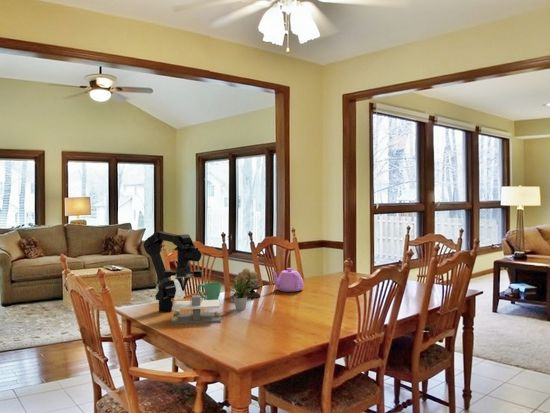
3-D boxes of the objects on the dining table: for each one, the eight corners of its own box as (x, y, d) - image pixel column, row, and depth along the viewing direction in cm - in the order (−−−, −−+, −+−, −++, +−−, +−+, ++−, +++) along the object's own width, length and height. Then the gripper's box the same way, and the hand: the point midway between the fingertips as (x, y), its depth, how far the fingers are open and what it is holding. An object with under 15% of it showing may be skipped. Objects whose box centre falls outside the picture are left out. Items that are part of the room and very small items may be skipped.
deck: (171, 310, 223) (171, 299, 223) (174, 303, 237) (174, 293, 237) (219, 308, 226) (219, 297, 225) (219, 301, 239) (219, 291, 239)
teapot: (263, 289, 301) (262, 267, 301) (292, 285, 312) (292, 264, 311) (279, 295, 282) (279, 272, 282) (311, 291, 292) (310, 269, 292)
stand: (170, 324, 222) (170, 312, 222) (174, 315, 238) (174, 304, 238) (220, 322, 225) (220, 310, 225) (220, 313, 241) (220, 302, 241)
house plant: (250, 313, 241) (250, 281, 241) (224, 312, 244) (223, 280, 244) (257, 306, 255) (256, 276, 255) (232, 305, 258) (231, 275, 258)
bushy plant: (265, 296, 282) (265, 267, 282) (256, 300, 272) (255, 270, 271) (239, 293, 290) (238, 265, 290) (228, 297, 280) (228, 268, 279)
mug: (224, 300, 270) (224, 283, 270) (215, 304, 261) (215, 286, 261) (203, 298, 276) (202, 281, 276) (193, 302, 267) (192, 284, 267)
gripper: (161, 262, 230) (161, 294, 231) (200, 262, 231) (200, 294, 232) (165, 259, 241) (165, 289, 242) (202, 258, 242) (202, 289, 243)
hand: (183, 290), depth 239 cm, fingers closed
